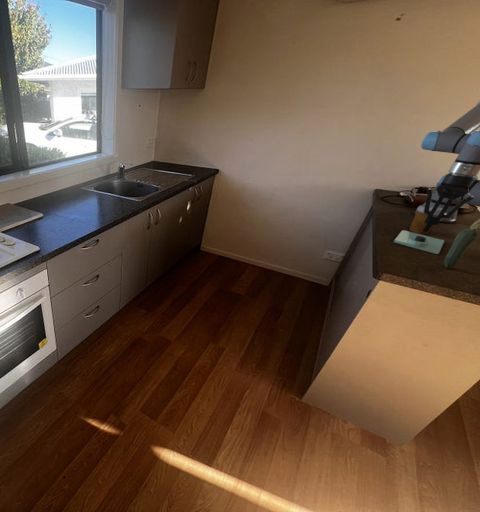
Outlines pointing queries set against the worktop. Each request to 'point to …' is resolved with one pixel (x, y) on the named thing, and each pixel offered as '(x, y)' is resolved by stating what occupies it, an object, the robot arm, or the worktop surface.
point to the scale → (409, 240)
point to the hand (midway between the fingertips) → (425, 230)
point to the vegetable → (461, 244)
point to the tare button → (420, 239)
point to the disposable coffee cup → (422, 219)
